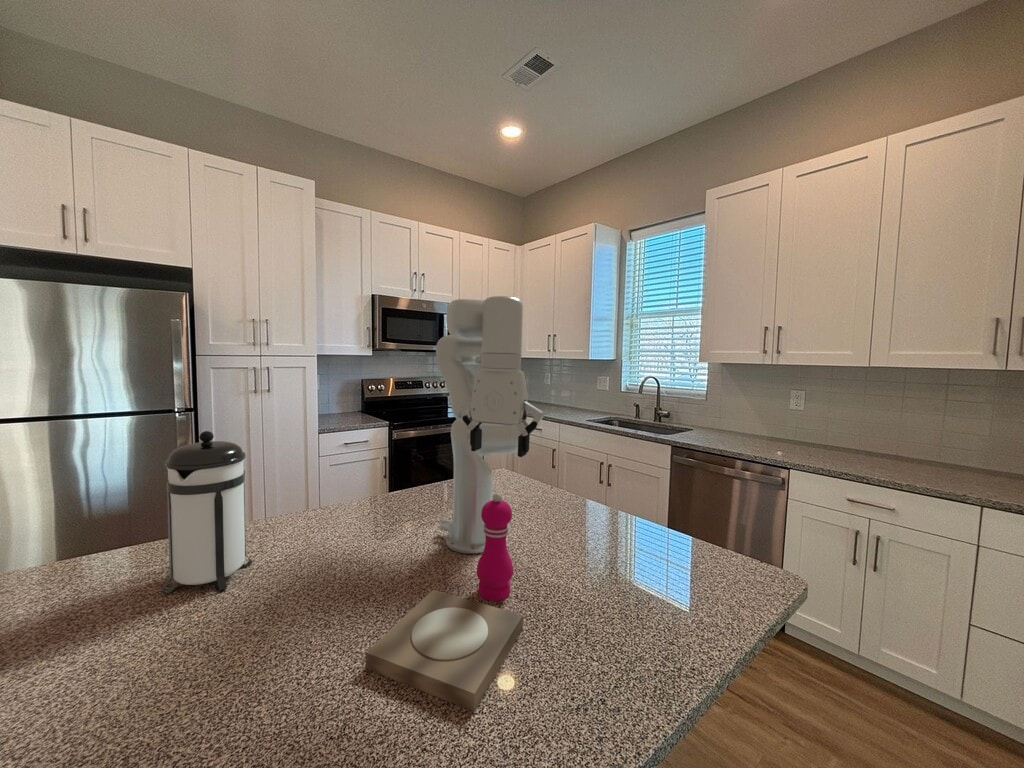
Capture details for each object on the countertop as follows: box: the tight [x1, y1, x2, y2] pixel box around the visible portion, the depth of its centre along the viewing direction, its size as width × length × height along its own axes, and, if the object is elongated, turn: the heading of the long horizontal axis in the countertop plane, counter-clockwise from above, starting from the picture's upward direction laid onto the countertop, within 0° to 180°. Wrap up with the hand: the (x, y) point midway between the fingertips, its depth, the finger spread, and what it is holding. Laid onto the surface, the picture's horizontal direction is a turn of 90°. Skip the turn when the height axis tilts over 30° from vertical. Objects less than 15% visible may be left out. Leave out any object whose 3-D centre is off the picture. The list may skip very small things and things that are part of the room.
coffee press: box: [161, 430, 253, 595], centre depth 84 cm, size 17×16×30 cm
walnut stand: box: [365, 589, 524, 712], centre depth 66 cm, size 18×18×3 cm
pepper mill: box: [476, 492, 514, 602], centre depth 81 cm, size 7×7×20 cm
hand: (498, 452), depth 80 cm, fingers open, 9 cm apart
